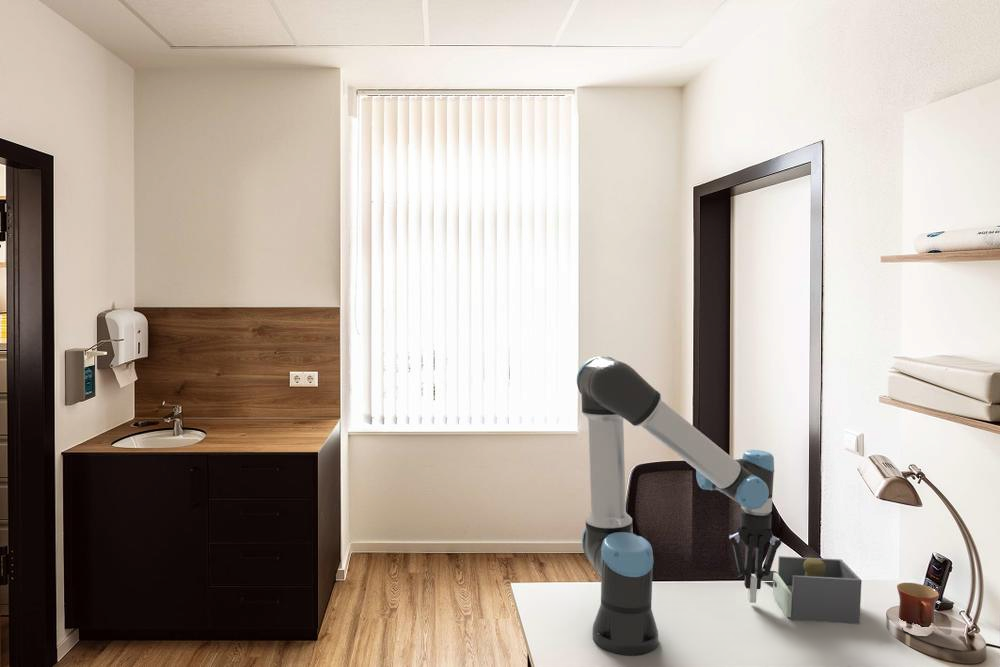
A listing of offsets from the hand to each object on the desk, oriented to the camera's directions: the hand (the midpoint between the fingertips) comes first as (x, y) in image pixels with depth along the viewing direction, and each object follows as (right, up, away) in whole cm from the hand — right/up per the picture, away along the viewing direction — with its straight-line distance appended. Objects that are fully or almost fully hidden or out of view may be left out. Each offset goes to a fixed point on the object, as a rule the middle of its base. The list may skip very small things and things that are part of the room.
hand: (751, 600), depth 184 cm
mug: (+35, -3, -14) cm, 38 cm away
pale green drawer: (+14, -1, -1) cm, 14 cm away
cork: (+15, 0, -2) cm, 15 cm away
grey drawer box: (+16, -2, -2) cm, 16 cm away
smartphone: (+13, -1, +15) cm, 19 cm away
